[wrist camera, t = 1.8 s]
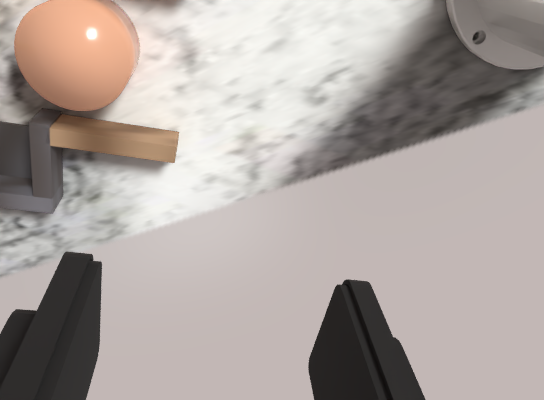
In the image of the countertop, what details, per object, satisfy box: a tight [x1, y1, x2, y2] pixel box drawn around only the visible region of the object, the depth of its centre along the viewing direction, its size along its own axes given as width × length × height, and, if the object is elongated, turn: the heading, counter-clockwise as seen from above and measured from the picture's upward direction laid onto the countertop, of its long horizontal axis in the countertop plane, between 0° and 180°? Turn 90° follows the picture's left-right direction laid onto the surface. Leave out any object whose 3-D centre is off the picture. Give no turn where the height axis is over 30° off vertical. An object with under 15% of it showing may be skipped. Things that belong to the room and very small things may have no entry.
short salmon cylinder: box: [14, 0, 140, 111], centre depth 27 cm, size 6×6×4 cm
